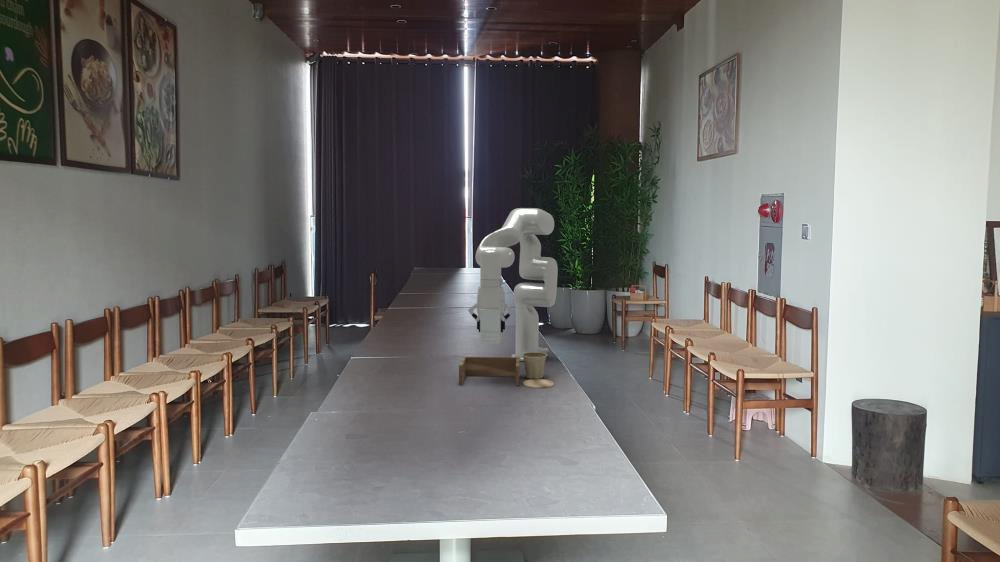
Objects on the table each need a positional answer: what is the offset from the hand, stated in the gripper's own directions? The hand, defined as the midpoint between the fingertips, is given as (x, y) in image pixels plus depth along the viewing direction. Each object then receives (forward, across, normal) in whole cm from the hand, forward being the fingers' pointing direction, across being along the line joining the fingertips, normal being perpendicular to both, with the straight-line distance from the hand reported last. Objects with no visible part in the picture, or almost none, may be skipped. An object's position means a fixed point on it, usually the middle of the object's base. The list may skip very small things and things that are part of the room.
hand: (491, 331), depth 273 cm
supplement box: (+4, 0, 0) cm, 4 cm away
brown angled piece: (+18, 0, +1) cm, 18 cm away
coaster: (+18, -17, +6) cm, 26 cm away
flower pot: (+19, -16, -5) cm, 25 cm away
